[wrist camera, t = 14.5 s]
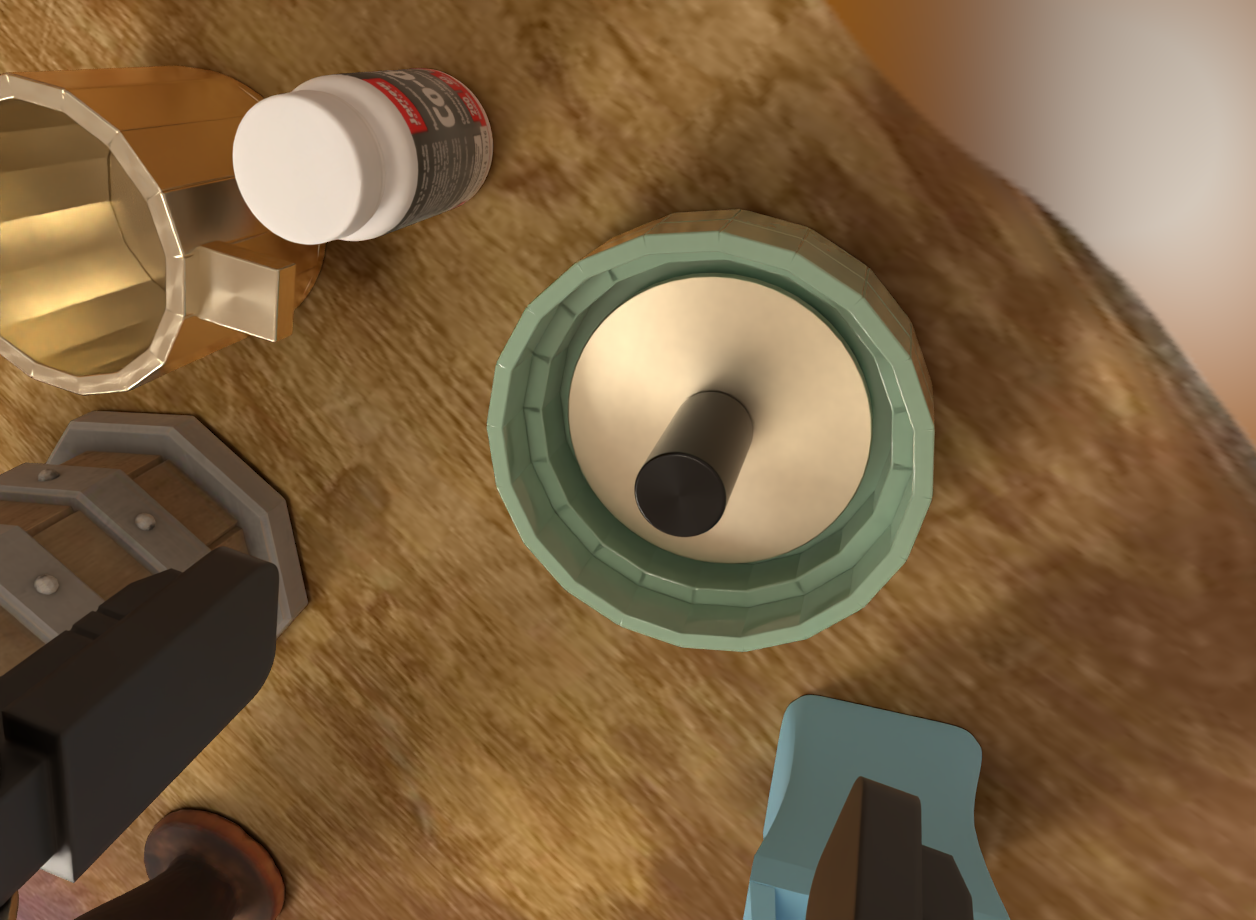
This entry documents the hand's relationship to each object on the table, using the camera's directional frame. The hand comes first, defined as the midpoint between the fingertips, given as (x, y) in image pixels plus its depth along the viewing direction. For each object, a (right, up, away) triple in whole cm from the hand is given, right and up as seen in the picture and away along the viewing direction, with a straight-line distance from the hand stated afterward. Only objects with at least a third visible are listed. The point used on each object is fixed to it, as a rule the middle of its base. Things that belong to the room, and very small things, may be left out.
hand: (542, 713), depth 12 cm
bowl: (+5, +5, +22) cm, 23 cm away
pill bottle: (-6, +15, +21) cm, 26 cm away
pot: (-15, +13, +24) cm, 31 cm away
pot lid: (+4, +5, +21) cm, 22 cm away
